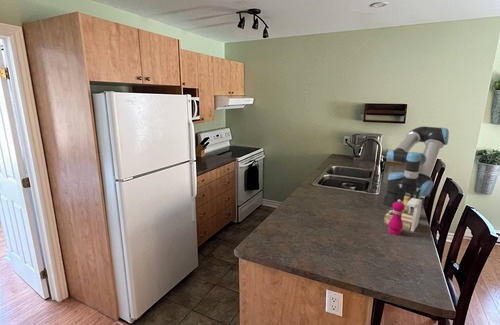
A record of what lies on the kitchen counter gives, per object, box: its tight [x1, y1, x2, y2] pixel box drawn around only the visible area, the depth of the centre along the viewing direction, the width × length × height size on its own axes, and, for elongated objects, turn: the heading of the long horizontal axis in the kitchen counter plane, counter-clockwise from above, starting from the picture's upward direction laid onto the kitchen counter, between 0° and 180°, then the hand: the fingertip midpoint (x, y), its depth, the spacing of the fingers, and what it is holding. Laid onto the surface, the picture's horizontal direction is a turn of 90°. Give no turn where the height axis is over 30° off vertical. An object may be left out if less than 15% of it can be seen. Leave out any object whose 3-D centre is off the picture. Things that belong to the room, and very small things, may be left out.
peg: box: [403, 194, 411, 214], centre depth 172 cm, size 4×4×14 cm
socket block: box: [383, 209, 413, 231], centre depth 164 cm, size 12×14×5 cm
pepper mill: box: [387, 199, 405, 236], centre depth 151 cm, size 7×7×20 cm
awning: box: [406, 197, 423, 233], centre depth 159 cm, size 12×6×16 cm, turn 137°
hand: (405, 211), depth 173 cm, fingers closed on peg, 4 cm apart
